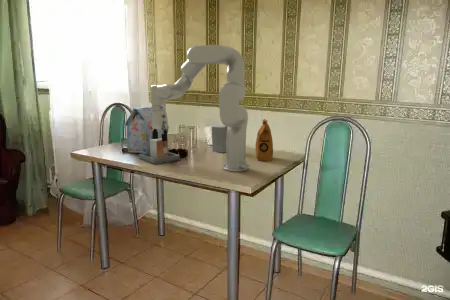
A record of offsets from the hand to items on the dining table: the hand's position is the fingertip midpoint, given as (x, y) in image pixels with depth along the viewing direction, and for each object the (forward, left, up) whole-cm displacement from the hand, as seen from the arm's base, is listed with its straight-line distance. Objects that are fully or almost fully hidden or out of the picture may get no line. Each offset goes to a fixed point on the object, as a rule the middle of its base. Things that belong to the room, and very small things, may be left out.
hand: (159, 139), depth 193 cm
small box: (+1, 0, -10) cm, 10 cm away
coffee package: (-33, -47, -11) cm, 59 cm away
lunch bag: (+27, -6, -11) cm, 29 cm away
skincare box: (-3, -40, -11) cm, 41 cm away
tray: (+1, 0, -11) cm, 11 cm away
